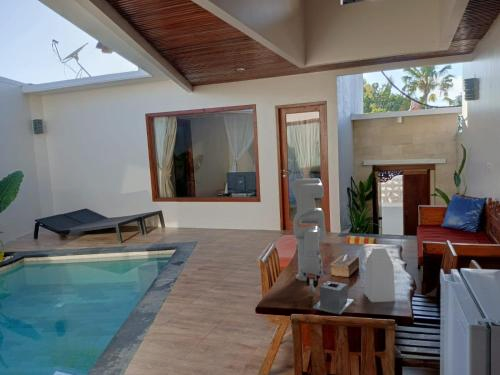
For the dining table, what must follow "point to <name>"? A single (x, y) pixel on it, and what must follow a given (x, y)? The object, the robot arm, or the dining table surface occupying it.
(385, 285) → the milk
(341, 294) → the receiver
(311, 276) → the pin
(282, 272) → the dining table surface
